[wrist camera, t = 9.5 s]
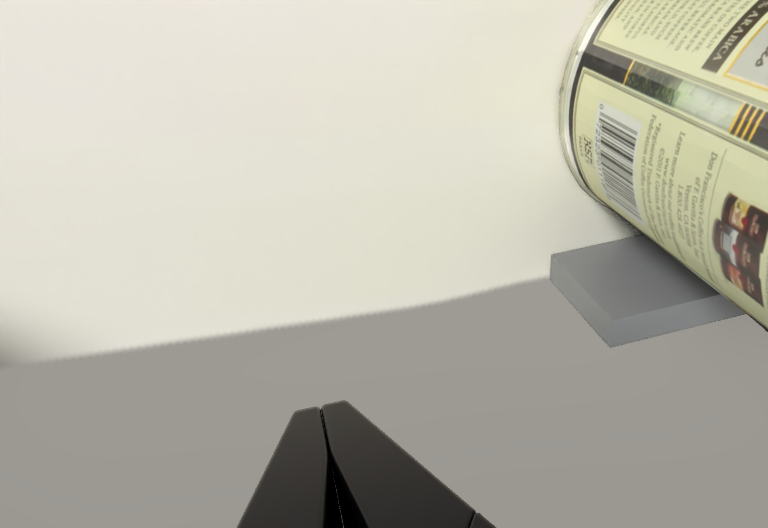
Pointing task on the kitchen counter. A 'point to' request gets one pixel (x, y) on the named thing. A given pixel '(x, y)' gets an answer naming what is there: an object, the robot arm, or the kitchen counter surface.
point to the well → (635, 290)
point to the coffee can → (678, 132)
